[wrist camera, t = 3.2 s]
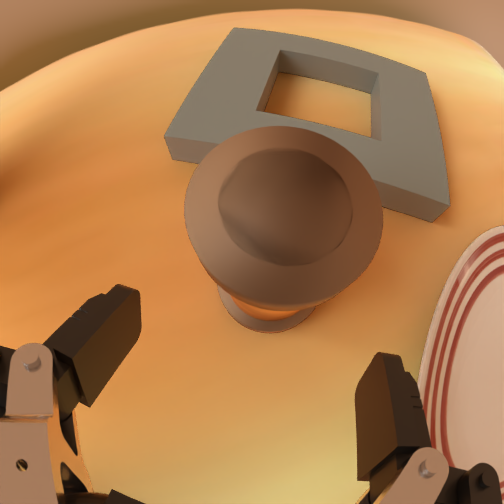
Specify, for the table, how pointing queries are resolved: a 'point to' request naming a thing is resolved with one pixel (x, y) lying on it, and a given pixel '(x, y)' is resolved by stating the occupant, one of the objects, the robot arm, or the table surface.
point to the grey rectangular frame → (363, 148)
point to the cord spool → (281, 223)
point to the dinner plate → (468, 360)
